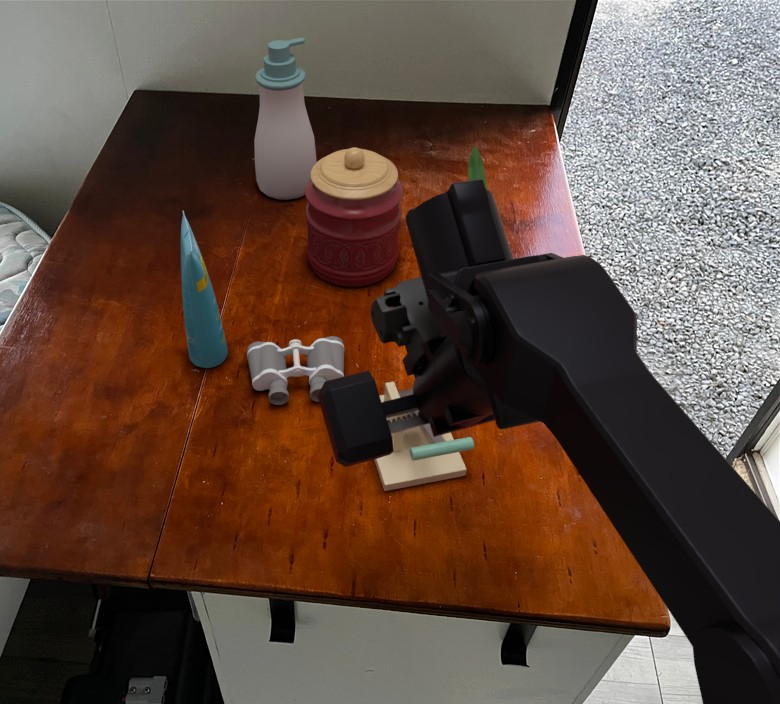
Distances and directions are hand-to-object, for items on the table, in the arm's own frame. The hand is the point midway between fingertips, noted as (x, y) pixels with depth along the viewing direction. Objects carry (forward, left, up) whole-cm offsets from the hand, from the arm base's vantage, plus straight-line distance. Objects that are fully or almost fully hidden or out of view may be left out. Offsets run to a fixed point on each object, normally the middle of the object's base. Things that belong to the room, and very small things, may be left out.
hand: (422, 417), depth 61 cm
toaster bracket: (+8, -5, -16) cm, 19 cm away
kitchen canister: (+39, -15, -17) cm, 46 cm away
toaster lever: (+4, -4, -10) cm, 12 cm away
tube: (+31, +10, -17) cm, 37 cm away
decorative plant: (+32, -33, -17) cm, 49 cm away
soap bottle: (+61, -15, -17) cm, 66 cm away
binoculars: (+22, +2, -17) cm, 28 cm away
